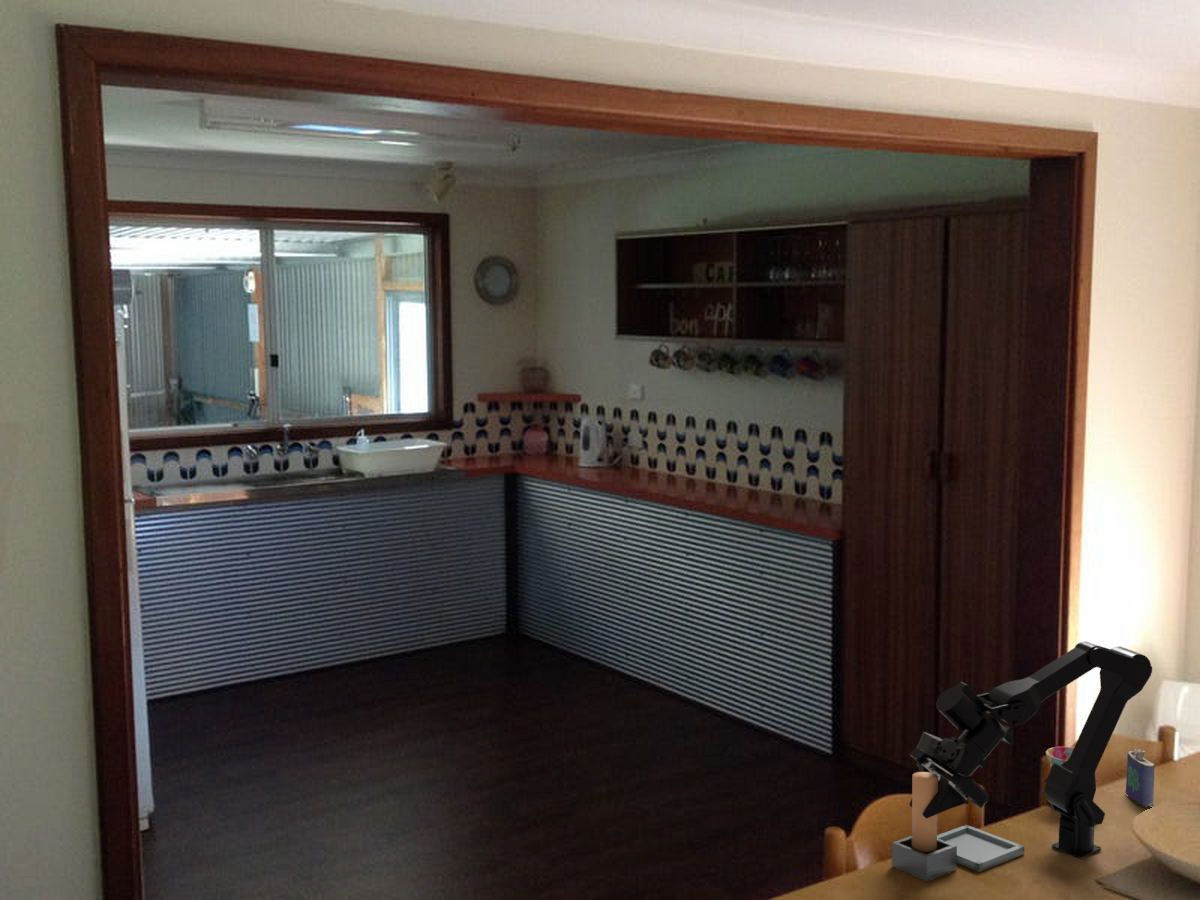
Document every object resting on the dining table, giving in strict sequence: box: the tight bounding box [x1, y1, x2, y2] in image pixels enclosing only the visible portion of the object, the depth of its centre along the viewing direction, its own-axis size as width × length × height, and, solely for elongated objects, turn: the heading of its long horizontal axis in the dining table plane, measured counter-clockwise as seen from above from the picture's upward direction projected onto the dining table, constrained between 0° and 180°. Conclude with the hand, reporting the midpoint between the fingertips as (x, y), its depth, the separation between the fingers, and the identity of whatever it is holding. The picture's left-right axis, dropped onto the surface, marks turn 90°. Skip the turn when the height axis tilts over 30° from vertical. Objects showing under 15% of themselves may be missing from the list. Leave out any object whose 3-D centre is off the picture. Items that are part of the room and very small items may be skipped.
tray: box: [937, 824, 1025, 873], centre depth 239 cm, size 13×13×2 cm
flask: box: [1124, 748, 1156, 809], centre depth 263 cm, size 9×3×11 cm, turn 2°
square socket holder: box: [891, 835, 958, 883], centre depth 232 cm, size 8×8×4 cm
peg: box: [911, 771, 938, 852], centre depth 231 cm, size 4×4×13 cm
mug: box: [1045, 746, 1075, 801], centre depth 262 cm, size 12×9×11 cm
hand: (917, 811), depth 230 cm, fingers closed on peg, 4 cm apart
